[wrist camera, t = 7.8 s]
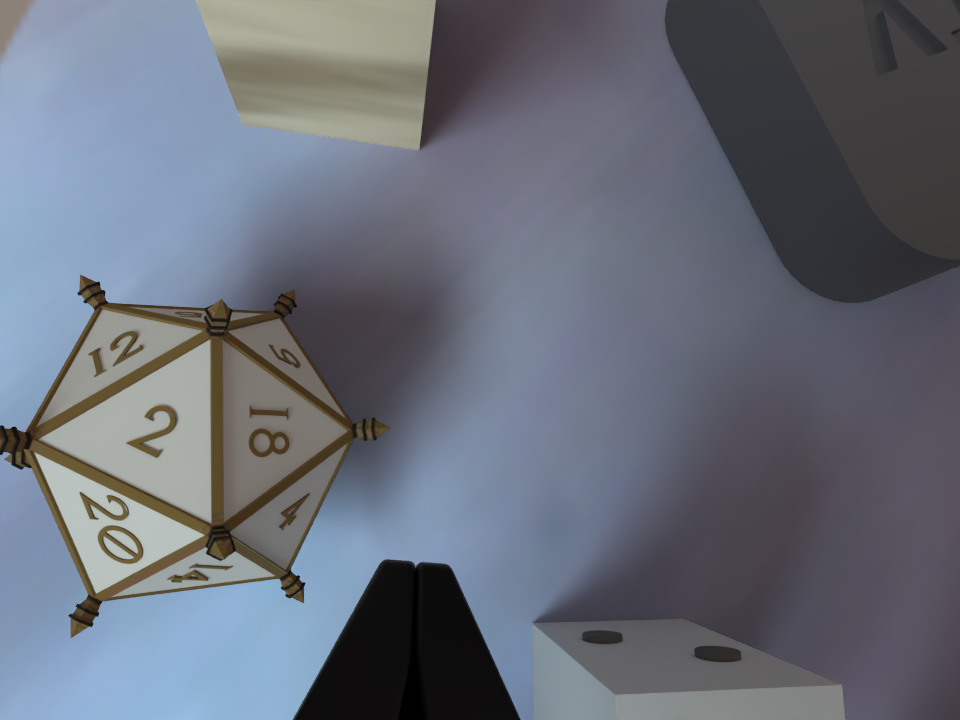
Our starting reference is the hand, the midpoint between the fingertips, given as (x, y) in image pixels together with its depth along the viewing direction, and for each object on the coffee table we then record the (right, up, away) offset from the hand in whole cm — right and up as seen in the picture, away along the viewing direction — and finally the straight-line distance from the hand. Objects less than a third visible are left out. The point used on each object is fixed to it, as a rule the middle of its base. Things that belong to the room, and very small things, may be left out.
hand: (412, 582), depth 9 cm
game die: (-7, 0, +13) cm, 15 cm away
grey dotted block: (+5, -8, +13) cm, 16 cm away
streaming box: (+16, +13, +19) cm, 28 cm away
